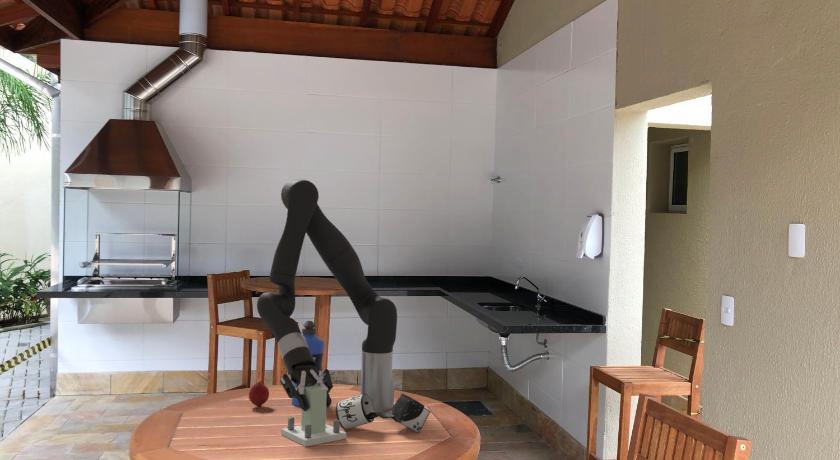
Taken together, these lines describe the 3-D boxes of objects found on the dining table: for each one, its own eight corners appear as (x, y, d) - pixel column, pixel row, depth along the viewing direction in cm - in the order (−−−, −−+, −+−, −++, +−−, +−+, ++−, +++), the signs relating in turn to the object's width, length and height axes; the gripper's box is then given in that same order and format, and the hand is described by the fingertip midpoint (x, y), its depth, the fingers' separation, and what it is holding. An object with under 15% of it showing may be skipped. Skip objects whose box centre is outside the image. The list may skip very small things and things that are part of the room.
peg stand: (320, 427, 197) (321, 410, 197) (345, 438, 188) (346, 421, 188) (281, 434, 189) (281, 417, 189) (305, 446, 180) (305, 428, 180)
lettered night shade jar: (334, 436, 190) (335, 397, 190) (335, 425, 200) (336, 389, 200) (431, 436, 192) (432, 398, 192) (428, 426, 202) (429, 390, 202)
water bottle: (319, 408, 217) (322, 323, 217) (288, 407, 217) (291, 322, 217) (324, 400, 226) (326, 319, 226) (294, 399, 227) (296, 318, 226)
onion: (263, 410, 213) (264, 382, 213) (245, 408, 214) (245, 381, 214) (271, 405, 218) (272, 378, 218) (253, 404, 219) (254, 377, 219)
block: (316, 427, 192) (317, 385, 192) (325, 431, 188) (326, 388, 188) (301, 429, 189) (302, 387, 189) (310, 434, 186) (311, 390, 185)
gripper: (276, 347, 190) (299, 403, 180) (324, 343, 199) (347, 396, 190) (266, 364, 194) (287, 420, 185) (313, 359, 203) (335, 411, 194)
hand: (317, 407), depth 187 cm, fingers open, 6 cm apart
